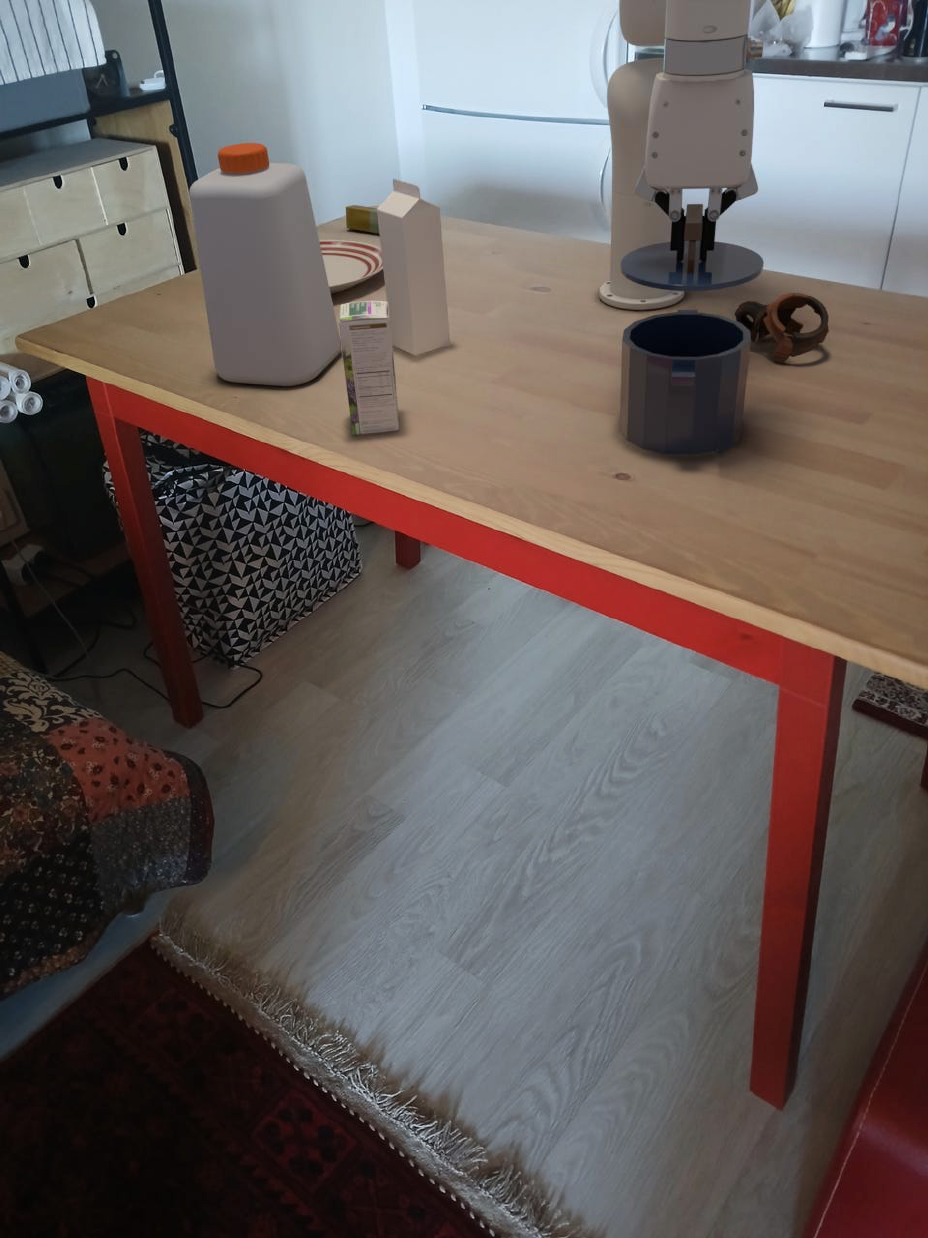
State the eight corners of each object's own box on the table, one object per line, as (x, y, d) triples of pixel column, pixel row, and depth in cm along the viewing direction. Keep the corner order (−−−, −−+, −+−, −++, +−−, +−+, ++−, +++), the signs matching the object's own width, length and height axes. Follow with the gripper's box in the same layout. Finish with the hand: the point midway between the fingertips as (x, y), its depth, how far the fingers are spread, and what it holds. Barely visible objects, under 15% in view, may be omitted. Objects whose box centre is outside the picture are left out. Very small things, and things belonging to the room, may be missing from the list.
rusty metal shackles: (819, 337, 138) (842, 296, 130) (804, 392, 135) (826, 352, 127) (733, 311, 139) (750, 268, 132) (716, 364, 136) (732, 324, 128)
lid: (760, 250, 111) (766, 192, 108) (764, 297, 100) (772, 234, 96) (625, 251, 114) (626, 194, 111) (614, 296, 103) (616, 235, 99)
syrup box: (352, 418, 127) (336, 302, 118) (400, 413, 127) (387, 297, 118) (352, 439, 122) (335, 320, 113) (402, 434, 122) (389, 315, 113)
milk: (415, 359, 140) (398, 191, 127) (391, 347, 144) (372, 183, 131) (451, 347, 143) (438, 180, 129) (426, 335, 147) (411, 173, 133)
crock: (739, 396, 124) (748, 303, 117) (741, 472, 110) (752, 371, 103) (626, 394, 127) (628, 303, 120) (613, 468, 112) (616, 369, 105)
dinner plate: (304, 246, 185) (301, 227, 183) (424, 267, 171) (422, 247, 169) (190, 295, 168) (186, 274, 166) (313, 322, 154) (310, 300, 152)
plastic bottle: (308, 391, 134) (270, 163, 117) (206, 384, 138) (155, 162, 121) (351, 346, 145) (322, 133, 128) (255, 341, 149) (215, 133, 133)
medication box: (405, 234, 187) (405, 211, 185) (397, 237, 185) (396, 213, 183) (354, 225, 193) (353, 203, 191) (345, 228, 191) (344, 205, 189)
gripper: (790, 47, 97) (768, 245, 108) (622, 54, 100) (617, 246, 111) (795, 60, 91) (771, 269, 102) (616, 67, 94) (612, 269, 105)
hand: (691, 256), depth 106 cm, fingers closed on lid
